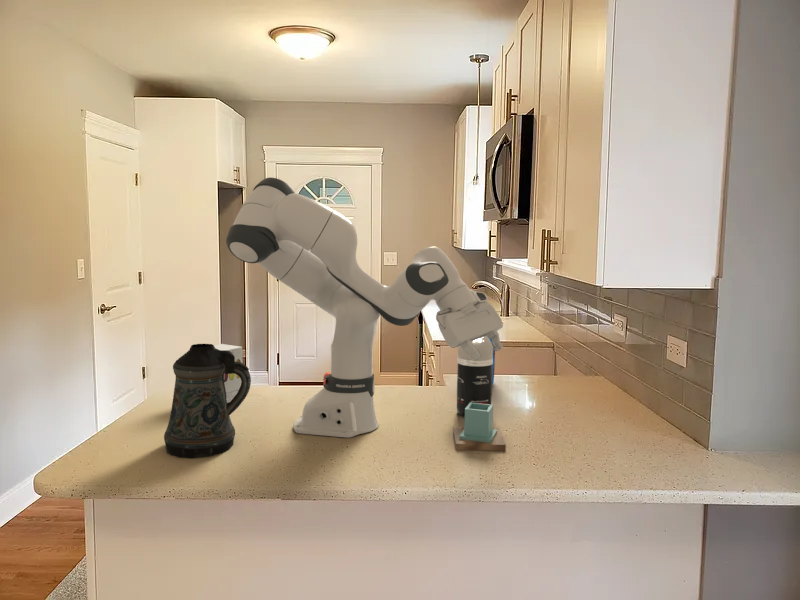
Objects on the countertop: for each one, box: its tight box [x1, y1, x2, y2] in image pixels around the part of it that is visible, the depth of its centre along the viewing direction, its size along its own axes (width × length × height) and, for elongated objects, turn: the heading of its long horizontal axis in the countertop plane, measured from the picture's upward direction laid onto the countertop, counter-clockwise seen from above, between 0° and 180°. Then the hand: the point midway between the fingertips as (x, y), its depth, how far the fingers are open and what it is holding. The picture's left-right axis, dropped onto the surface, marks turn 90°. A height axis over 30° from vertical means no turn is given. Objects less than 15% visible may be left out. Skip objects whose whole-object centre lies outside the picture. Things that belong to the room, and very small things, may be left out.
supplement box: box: [214, 343, 244, 403], centre depth 185 cm, size 10×9×17 cm
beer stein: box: [163, 343, 252, 459], centre depth 148 cm, size 16×19×25 cm
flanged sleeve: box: [459, 402, 497, 443], centre depth 153 cm, size 8×8×8 cm
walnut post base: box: [452, 427, 507, 452], centre depth 153 cm, size 12×12×6 cm
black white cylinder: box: [456, 336, 493, 417], centre depth 175 cm, size 10×10×25 cm
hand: (489, 353), depth 145 cm, fingers open, 8 cm apart
